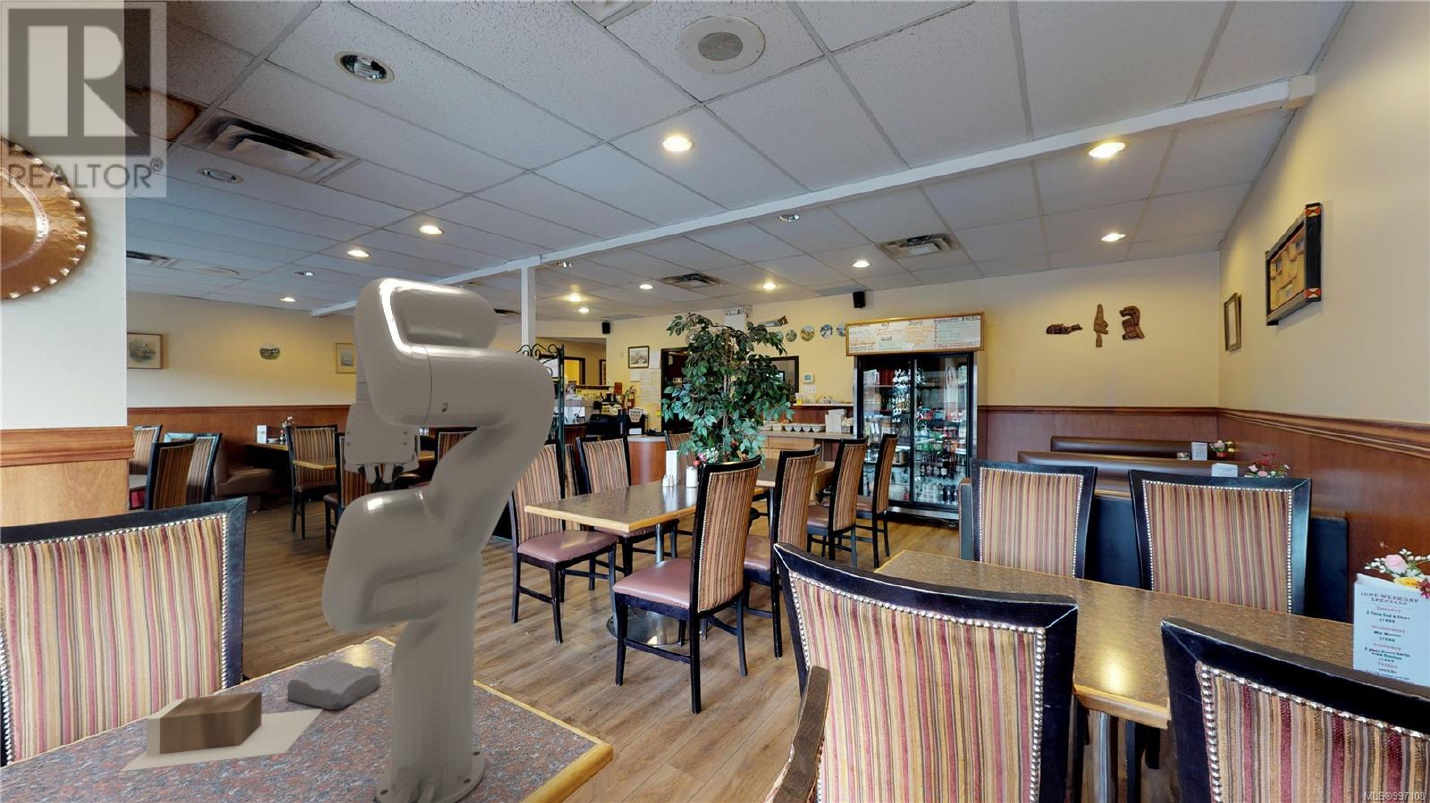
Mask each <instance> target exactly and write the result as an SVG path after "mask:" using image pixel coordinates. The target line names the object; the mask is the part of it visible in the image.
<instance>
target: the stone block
mask: <svg viewBox="0 0 1430 803" xmlns="http://www.w3.org/2000/svg"><path fill="white" fill-rule="evenodd" d="M380 681H381V673H380V669H379V668H376V667H375V668H374V667H372V666H366V667H363V666H357V665H353V663H352V664H351V663H350V662H349V663H348V662H344V661H343V662H342V661H338V660H337V661H335V660H334V661H333V660H331V661H328V662H323V663H317V664H314V665H313V666H309V667H307V668H305V669H303V670H301V671H298V672H297V673H295V674H294V675H293V676H292V677H291V678H290V680H289V682H288V683H287V687H286V689H287V693H286V695H287V698H288V701H290V702H291V701H292V702H295V703H300V704H304V705H309V706H312V707H319V708H320V709H323V708H324V709H323V710H325V709H326V710H337V711H340V710H343V709H344V708H345V707H347V706H349V705H352V704H354V703H355V702H357V701H358V700H359V699H362V698H363V697H366V696H368V695H370V694H371V693H373V692H374V691H375V690H376V689H377V687H378V685H379V684H380Z"/></svg>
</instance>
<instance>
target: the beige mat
mask: <svg viewBox="0 0 1430 803" xmlns="http://www.w3.org/2000/svg"><path fill="white" fill-rule="evenodd" d="M324 710H325V709H324V708H315V709H313V708H312V709H306V710H304V709H303V710H294V711H284V712H273V713H264V714H262V718H261V726H260V727H259V728H258V729H257V730H255V731H254V732H253V733H252V734H251V735H250V736H249V737H248V738H247V739H246V740H245V741H244V742H243V743H242V744H241V745H240V746H231V747H222V748H213V749H204V750H195V751H185V752H176V753H167V754H158V755H149V756H147V749H146V750H145V751H143V752H142V753H141V754H139V755H138V756H137V757H135V759H133V760H132V761H130V763H128V764H126V766H124V767H123V768H122V769H121V770H119V771H118V772H120V773H121V772H122V773H123V772H129V771H130V772H131V771H138V770H147V769H148V770H149V769H156V768H164V767H172V766H173V767H174V766H182V765H183V766H184V765H189V764H190V765H191V764H200V763H207V762H208V763H210V762H216V761H226V760H227V761H228V760H234V759H243V758H244V759H245V758H253V757H262V756H271V755H279V754H285V753H286V752H287V751H288V750H289V749H290V748H291V746H293V745H294V743H295V742H296V741H297V740H298V738H300V737H301V735H302V734H304V732H305V731H306V730H307V729H308V727H309V726H310V725H311V724H312V723H313V722H314V721H315V719H316V718H317V717H318V716H319V715H320V714H321V713H322V712H323V711H324Z"/></svg>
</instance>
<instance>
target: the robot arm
mask: <svg viewBox="0 0 1430 803" xmlns="http://www.w3.org/2000/svg"><path fill="white" fill-rule="evenodd" d="M353 313H354V314H353V330H352V331H353V332H352V342H353V347H354V348H355V350H356V351H355V352H356V353H355V354H356V356H355V358H356V359H355V369H356V370H355V402H351V404H350V407H349V411H348V415H347V420H346V426H345V434H344V442H343V443H344V446H343V448H344V450H343V456H344V460H345V463H344V470H345V471H348V472H353V473H356V474H357V473H358V474H360V475H361V476H362V477H363V478H364V479H366V482H367V483H368V484H369V486H370V487H369V493H367V494H365V495H362V496H359V497H357V498H355V499H354V500H353V501H352V502H350V503H349V504H348V505H347V506H346V508H345V509H344V510H343V512H342V514H341V516H340V517H339V521H338V525H337V526H336V532H335V536H334V538H333V543H332V545H331V546H332V547H331V551H330V555H329V559H328V563H327V566H326V570H325V574H324V578H323V583H322V584H323V585H322V589H321V590H322V591H321V607H322V614H323V617H324V619H325V622H326V623H327V624H328V625H329V627H330V628H331V629H333V630H334V631H335V632H338V633H341V634H345V635H346V634H347V635H348V634H349V635H350V634H357V633H362V632H363V633H364V632H367V631H370V630H371V631H372V630H375V629H379V628H382V627H383V628H384V627H388V626H391V625H396V624H400V623H403V622H406V621H408V622H407V623H406V625H405V626H404V627H403V629H402V630H401V633H400V634H399V636H398V638H397V640H396V641H395V642H396V643H395V645H394V648H393V651H392V655H391V688H390V689H391V690H390V691H391V693H390V694H391V696H390V697H391V699H390V766H389V767H388V768H387V769H386V770H385V771H384V772H383V773H382V775H381V776H380V778H379V779H378V781H377V784H376V787H375V800H376V803H456V802H457V801H460V800H461V799H462V798H464V797H465V796H467V795H468V794H469V793H470V792H471V791H473V790H474V789H475V787H476V786H477V785H478V784H479V783H480V781H481V780H482V779H483V778H482V777H483V776H484V773H485V771H486V757H485V753H484V752H483V751H482V749H480V748H479V747H478V746H476V745H475V744H474V684H475V683H474V681H475V680H474V674H475V672H474V669H475V668H474V667H475V666H474V664H475V663H474V662H475V658H474V657H475V656H474V655H475V626H476V625H475V624H476V612H477V605H478V601H479V595H480V594H479V593H480V589H481V585H482V578H483V572H484V571H483V567H484V566H483V564H484V561H483V556H482V551H483V550H484V548H485V547H486V545H487V543H488V542H489V540H490V539H491V537H492V534H493V532H494V531H495V528H496V527H497V524H498V522H499V520H500V518H501V517H502V514H503V512H504V510H505V508H506V506H507V504H508V502H509V498H510V497H511V494H512V493H513V491H514V489H515V488H516V486H517V485H518V484H519V482H520V481H521V479H522V478H523V476H525V474H526V472H527V471H528V470H529V468H530V467H531V466H532V464H534V462H535V461H536V459H537V457H538V456H539V455H540V452H541V451H542V449H543V447H544V445H545V443H546V442H547V439H548V436H549V434H550V431H551V428H552V423H553V420H554V415H555V414H554V413H555V404H556V392H555V384H554V379H553V377H552V374H551V372H550V371H549V369H548V368H547V366H545V365H544V364H543V363H542V362H541V361H539V360H538V359H536V358H534V357H531V356H529V355H527V354H523V353H519V352H515V351H510V350H504V349H495V348H488V347H489V346H490V345H491V344H492V343H493V341H494V340H495V338H496V336H497V333H498V329H499V322H498V316H497V314H496V311H495V309H494V308H493V306H492V305H491V303H490V302H489V301H488V300H487V299H486V298H484V297H483V296H481V295H480V294H478V293H477V292H474V291H472V290H469V289H466V288H462V287H457V286H453V285H452V286H451V285H443V284H438V283H431V282H425V281H424V282H423V281H419V280H418V281H417V280H411V279H404V278H397V277H389V276H388V277H380V278H377V279H373V280H372V281H370V282H369V283H367V284H366V285H365V286H364V287H363V289H362V290H361V292H360V294H359V295H358V297H357V298H356V303H355V306H354V312H353ZM447 427H448V428H451V427H453V428H455V427H478V428H477V429H476V430H474V431H473V432H472V433H469V434H468V435H467V436H465V437H463V438H462V439H461V440H459V441H458V442H457V443H455V445H453V446H452V447H451V448H450V449H449V450H448V451H447V452H446V453H445V454H444V455H443V456H442V458H441V459H439V460H438V463H437V464H436V466H435V469H434V471H433V474H432V478H431V479H430V480H431V481H430V483H429V484H427V485H424V486H419V487H416V488H406V489H397V490H395V481H396V480H398V478H399V477H400V476H401V475H402V474H403V473H405V472H409V471H413V470H416V469H418V468H419V467H420V464H419V460H418V459H419V457H420V455H421V439H420V438H421V437H420V436H421V435H420V428H447ZM381 465H385V466H384V472H383V477H382V471H381Z"/></svg>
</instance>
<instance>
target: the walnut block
mask: <svg viewBox="0 0 1430 803" xmlns="http://www.w3.org/2000/svg"><path fill="white" fill-rule="evenodd" d="M262 693H263V692H262V691H254V692H245V693H243V692H242V693H233V694H231V693H230V694H222V695H210V696H209V695H208V696H202V697H201V696H200V697H199V696H198V697H190V698H189V697H188V698H187V697H186V698H179V699H174V700H172V701H171V702H169V703H168V704H167V705H165V706H164V707H162V708H161V709H160V710H158V711H157V712H155V713H154V714H153V715H151V716H149V717H148V718H147V719H146V750H147V756H149V755H158V754H167V753H176V752H185V751H195V750H204V749H213V748H222V747H231V746H240V745H241V744H242V743H243V742H244V741H245V740H246V739H247V738H248V737H249V736H250V735H251V734H252V733H253V732H254V731H255V730H257V729H258V728H259V727H260V726H261V718H262V712H263V710H262V707H263V706H262V702H263V701H262V699H263V698H262V697H263V694H262Z"/></svg>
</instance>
